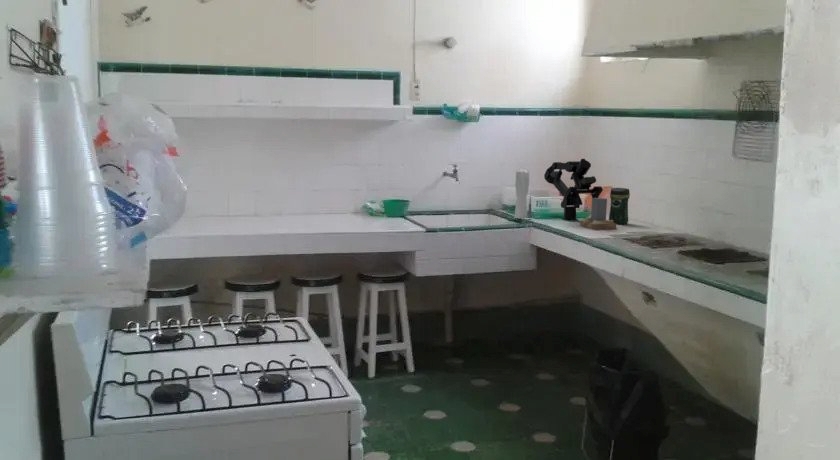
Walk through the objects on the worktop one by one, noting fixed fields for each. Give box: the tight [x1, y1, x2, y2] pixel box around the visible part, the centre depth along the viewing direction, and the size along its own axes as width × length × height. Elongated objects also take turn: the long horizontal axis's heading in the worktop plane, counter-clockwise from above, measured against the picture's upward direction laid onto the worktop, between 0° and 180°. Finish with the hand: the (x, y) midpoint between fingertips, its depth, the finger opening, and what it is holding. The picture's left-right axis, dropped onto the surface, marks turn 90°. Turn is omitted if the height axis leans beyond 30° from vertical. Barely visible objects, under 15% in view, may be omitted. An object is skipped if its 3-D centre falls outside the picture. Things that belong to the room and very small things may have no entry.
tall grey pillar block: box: [590, 197, 608, 222], centre depth 380 cm, size 5×6×12 cm
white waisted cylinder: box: [513, 166, 532, 220], centre depth 403 cm, size 8×8×28 cm
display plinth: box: [579, 217, 617, 231], centre depth 381 cm, size 14×12×4 cm
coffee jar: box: [608, 187, 631, 225], centre depth 396 cm, size 10×8×19 cm
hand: (589, 204), depth 388 cm, fingers open, 9 cm apart
